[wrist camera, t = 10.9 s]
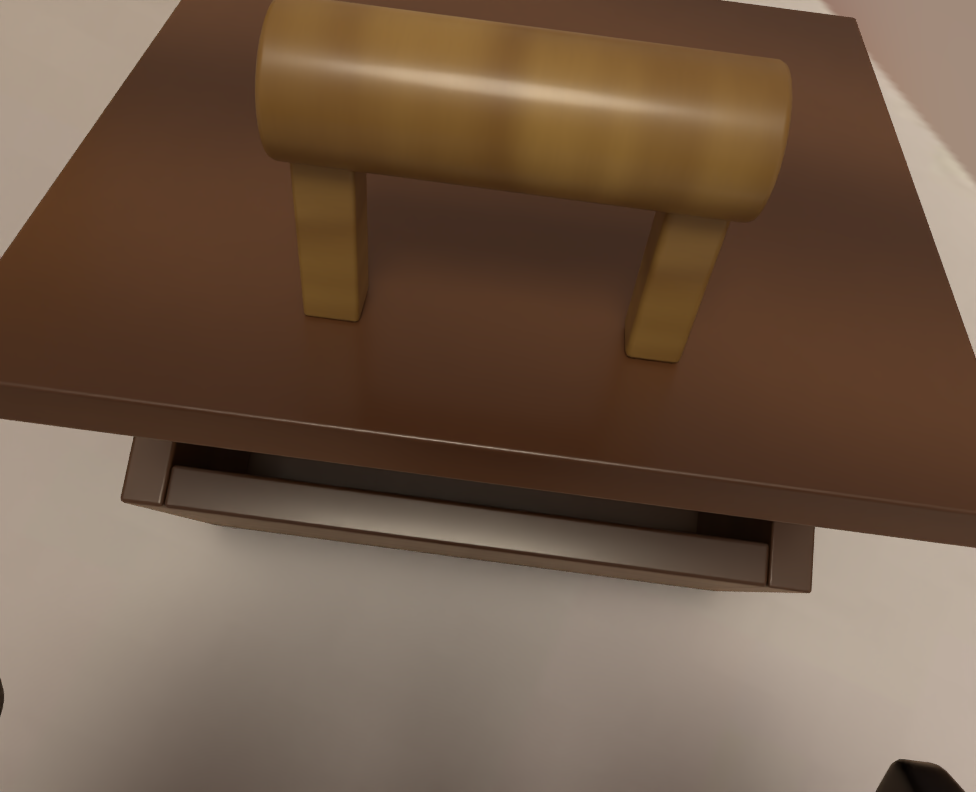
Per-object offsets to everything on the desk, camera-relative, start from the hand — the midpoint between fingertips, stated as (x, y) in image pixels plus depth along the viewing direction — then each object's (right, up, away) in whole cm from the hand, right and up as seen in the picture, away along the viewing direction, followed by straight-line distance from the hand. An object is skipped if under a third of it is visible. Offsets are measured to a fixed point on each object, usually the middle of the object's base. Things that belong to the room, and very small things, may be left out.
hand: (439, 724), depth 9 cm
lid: (+1, +7, +6) cm, 9 cm away
